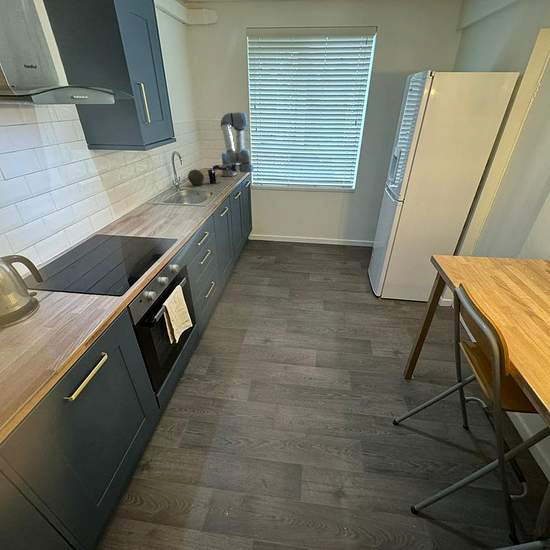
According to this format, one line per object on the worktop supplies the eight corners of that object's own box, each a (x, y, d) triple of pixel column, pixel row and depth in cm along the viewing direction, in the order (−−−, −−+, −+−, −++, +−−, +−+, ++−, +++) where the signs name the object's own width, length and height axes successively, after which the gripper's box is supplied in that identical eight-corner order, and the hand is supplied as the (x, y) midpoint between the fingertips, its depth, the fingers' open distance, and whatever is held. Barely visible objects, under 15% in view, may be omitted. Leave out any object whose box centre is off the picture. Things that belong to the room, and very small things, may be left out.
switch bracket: (220, 182, 287) (218, 168, 280) (216, 184, 280) (214, 170, 273) (210, 182, 290) (208, 168, 283) (206, 184, 283) (203, 170, 276)
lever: (222, 167, 275) (220, 164, 274) (220, 168, 272) (219, 164, 271) (212, 173, 281) (210, 169, 280) (210, 174, 279) (208, 170, 277)
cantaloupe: (189, 184, 284) (186, 168, 276) (204, 183, 286) (201, 167, 278) (189, 188, 272) (186, 172, 264) (205, 187, 275) (202, 170, 267)
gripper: (233, 174, 264) (210, 173, 271) (240, 169, 278) (218, 169, 284) (232, 165, 260) (209, 164, 267) (240, 161, 274) (217, 161, 280)
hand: (214, 167), depth 275 cm, fingers closed on lever, 4 cm apart
